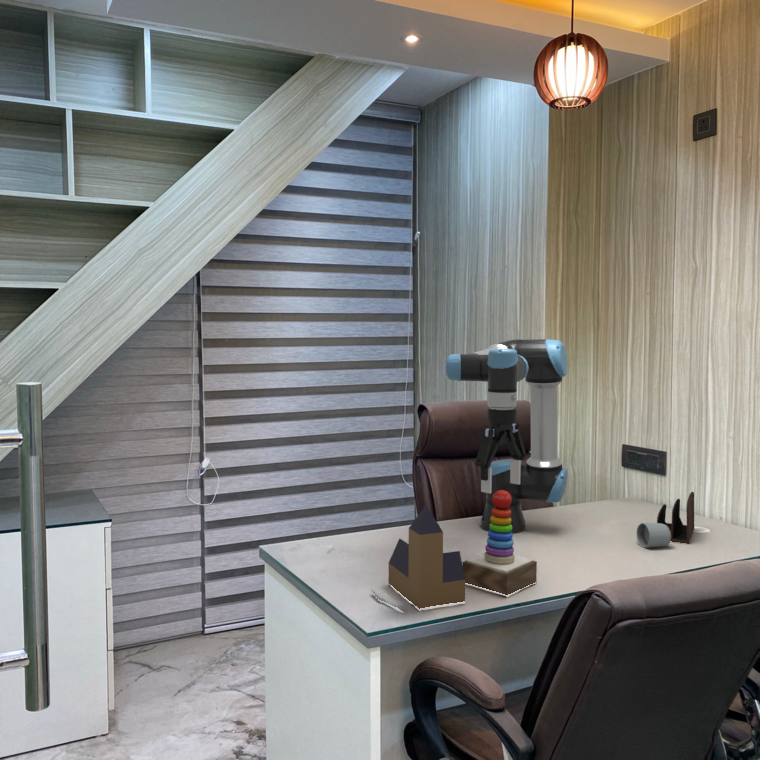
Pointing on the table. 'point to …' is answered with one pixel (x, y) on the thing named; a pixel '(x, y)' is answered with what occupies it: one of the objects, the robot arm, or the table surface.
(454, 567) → the toy building blocks
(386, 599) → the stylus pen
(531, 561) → the base block
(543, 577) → the table surface
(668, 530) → the ceramic mug
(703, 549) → the table surface
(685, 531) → the letter holder
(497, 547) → the stacking toy
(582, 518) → the table surface
